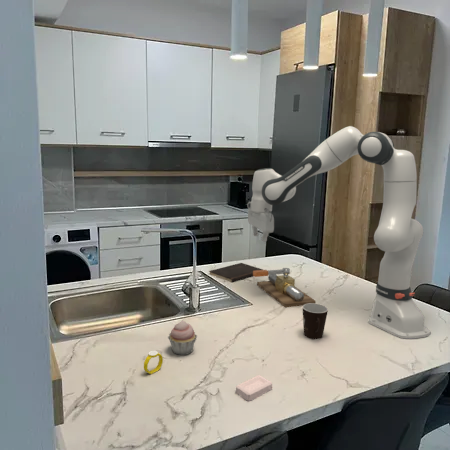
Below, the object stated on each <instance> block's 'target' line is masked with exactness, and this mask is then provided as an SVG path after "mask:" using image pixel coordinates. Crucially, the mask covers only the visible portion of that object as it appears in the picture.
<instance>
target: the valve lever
mask: <svg viewBox="0 0 450 450" xmlns="http://www.w3.org/2000/svg"><path fill="white" fill-rule="evenodd" d="M290 272H291V269H290V268H288V267H283V268H282V269H270V270H267V269H263V270H256V271H253V277H255V278H260V277H268V276H269V275H274V274H276V275H283V274H285V275H290V274H291V273H290Z"/></svg>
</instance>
